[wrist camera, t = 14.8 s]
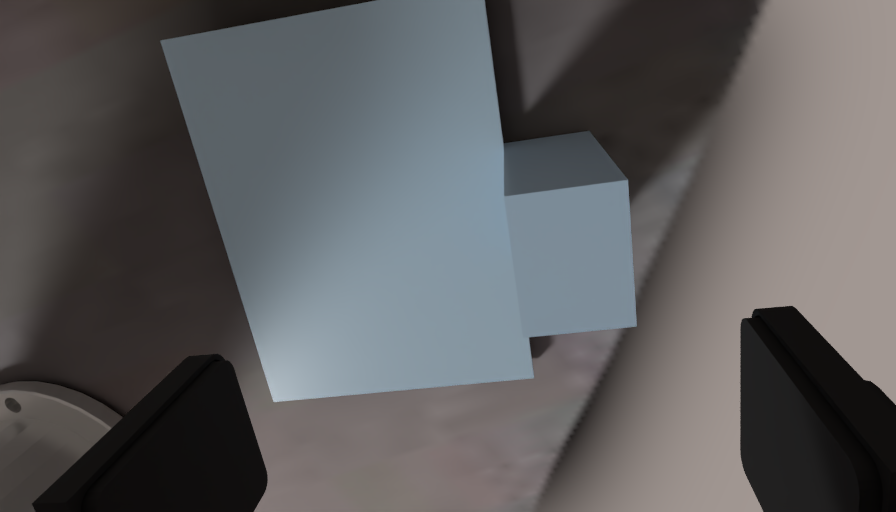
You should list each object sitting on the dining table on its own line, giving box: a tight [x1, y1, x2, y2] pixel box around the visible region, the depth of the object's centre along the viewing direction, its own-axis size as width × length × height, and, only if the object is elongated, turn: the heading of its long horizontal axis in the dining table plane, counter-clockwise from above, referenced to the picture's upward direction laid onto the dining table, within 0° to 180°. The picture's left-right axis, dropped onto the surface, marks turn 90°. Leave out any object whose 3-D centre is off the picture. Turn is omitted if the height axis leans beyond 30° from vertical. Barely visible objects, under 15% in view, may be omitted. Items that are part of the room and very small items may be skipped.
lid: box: [160, 0, 637, 402], centre depth 20 cm, size 15×14×8 cm
